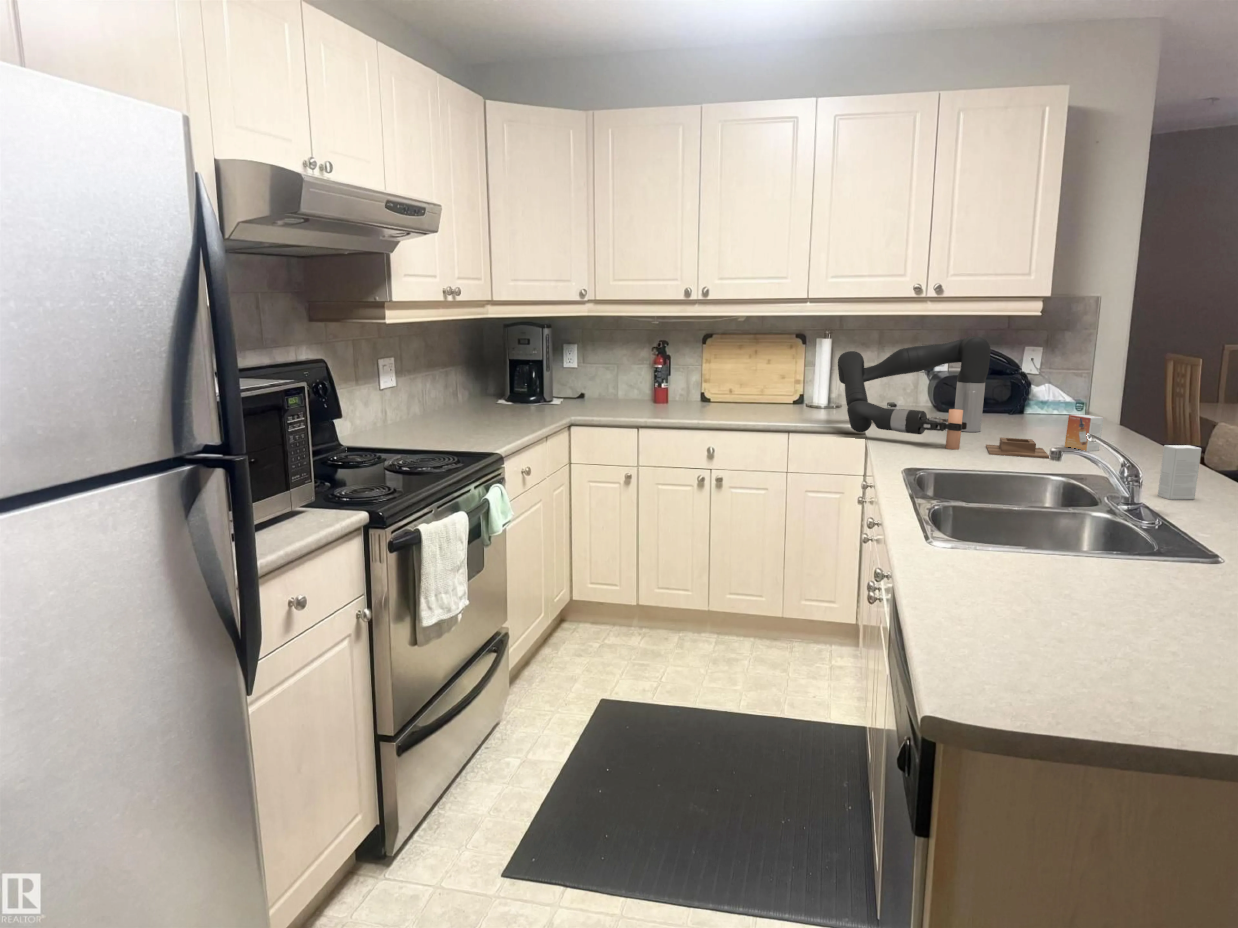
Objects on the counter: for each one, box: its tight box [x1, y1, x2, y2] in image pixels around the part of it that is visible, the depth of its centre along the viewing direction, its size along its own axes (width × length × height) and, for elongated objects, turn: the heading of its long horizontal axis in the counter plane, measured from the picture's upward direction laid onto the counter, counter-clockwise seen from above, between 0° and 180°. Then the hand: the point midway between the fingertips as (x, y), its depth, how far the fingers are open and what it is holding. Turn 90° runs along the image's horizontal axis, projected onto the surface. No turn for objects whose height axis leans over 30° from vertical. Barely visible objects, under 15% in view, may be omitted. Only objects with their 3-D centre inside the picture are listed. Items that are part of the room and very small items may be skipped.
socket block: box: [985, 437, 1050, 460], centre depth 242 cm, size 16×16×4 cm
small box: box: [1064, 413, 1104, 452], centre depth 249 cm, size 8×6×10 cm
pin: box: [945, 408, 963, 451], centre depth 246 cm, size 4×4×12 cm
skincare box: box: [1157, 444, 1202, 500], centre depth 183 cm, size 6×4×12 cm
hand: (963, 426), depth 244 cm, fingers closed on pin, 4 cm apart
